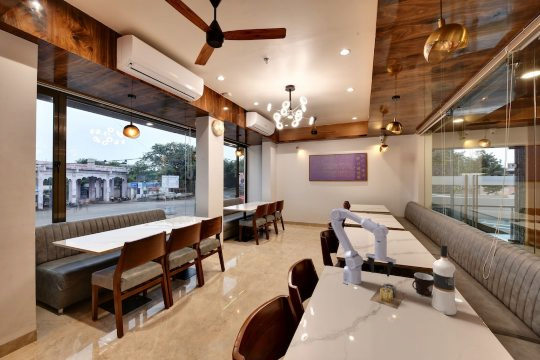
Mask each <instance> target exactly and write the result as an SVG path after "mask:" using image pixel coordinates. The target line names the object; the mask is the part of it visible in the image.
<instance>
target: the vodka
mask: <svg viewBox="0 0 540 360" xmlns="http://www.w3.org/2000/svg"><path fill="white" fill-rule="evenodd" d="M448 247H449V246H448V245H445V244H444V245H443V244H441V245H440V259H437V260H435V261H434V262H433V263H432V271H433V290H432V299H431V303H430V304H431V307H432V308H433V309H435V310H437V311H438V312H441V313H443V314H444V315H446V316H454V315H456V314H457V311H458V310H457V306H456V299H455V298H456V265H454V263H452V262H451V261H450V260H449V259H448V256H449V254H448V253H449V251H448Z"/></svg>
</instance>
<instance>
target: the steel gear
mask: <svg viewBox="0 0 540 360" xmlns="http://www.w3.org/2000/svg"><path fill="white" fill-rule="evenodd" d="M382 285H383V286H382V287H383V288H389V289H390V290H392V291H393V297H395V296H396V291H397V287H396V286H395V285H394V284H392V283H383V284H382ZM388 286H391V287H388Z"/></svg>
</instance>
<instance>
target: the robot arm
mask: <svg viewBox="0 0 540 360" xmlns="http://www.w3.org/2000/svg"><path fill="white" fill-rule="evenodd" d="M329 217H330V221H331V223H330V224H331V228H332V229H333V231H334V233H335V236H336V237H337V239H338V241H339V244H340V245H341V247H342V249H343V251H344V259H345V266H344V268H343V271H342V273H343V274H342V275H343V276H342V277H343V279H342V280H343V281H342V284H345V285H349V283H350V284H352V285H361V284H362V265H363V264H364V259H363V257H362V256H361V255H360V254H359V252H358V251H357V250H355V249H354V247H353V245H352V243H351V241H350V238H349V237H348V234H347V233H346V231H345V230H344V227H343V223H344V222H343V221H344V220H345V219H349V220H350V221H353V222H355V223H357V224H360V226H361V228H363V229H364V230H365V231H368V232H370V233H371V234H373V236H374V253H365V258H366V260H367V261H366V262H367V263H368V264H369V268H370V271H371V273H372V274H373V273H374V272H375V261H381V262H385V263H386V277H388V278H389V277H390V274H391V271H392V268H393V266H394V265H396V264H397V259H396V258H391V257H390V256H389V257H388V256H387V254H388V251H387V250H388V249H387V247H388V246H387V245H388V244H387V243H388V241H387V240H388V239H387V235H388V234H389V228H388V227H387V226H385V225H384V224H380V223H379V222H375V221H373V220H372V218H369V217H368V218H367V217H366V218H363V217H361V216H359V215H358V214H356V213H354V212H352V211H350V210H349V209H346V208H344V207H339V208H333V209H332V210H331V211H330V213H329Z"/></svg>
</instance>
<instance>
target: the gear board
mask: <svg viewBox="0 0 540 360" xmlns="http://www.w3.org/2000/svg"><path fill="white" fill-rule="evenodd" d="M388 287H391V286H388ZM380 288H383V286H379V287H378V289H377V290H376V292H375V293H374V294H373V295H372V297H371V298H370V299H369V300H370V301H372V302H375V303H376V304H377V303H378V304H381V305H383V306H387V307H389V308H392V309H396V310H399V309H398V308H399V306H400V305H401V303H402V301H403V299H404V297H405V295H406V293H404V292H401V291H397V290H396V296H395V297H393V302H390V303H388V302H384V301H383V300H381V299H380ZM385 291H386V292H388V290H385Z"/></svg>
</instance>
